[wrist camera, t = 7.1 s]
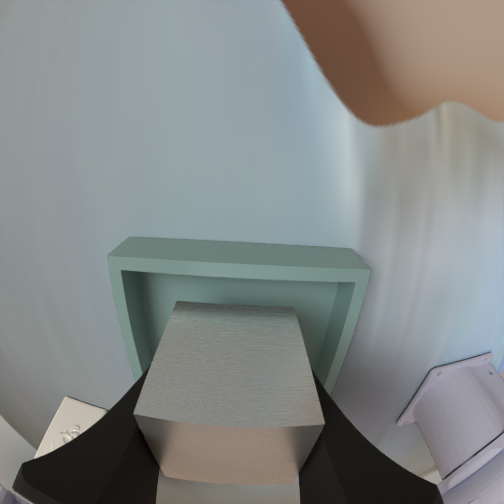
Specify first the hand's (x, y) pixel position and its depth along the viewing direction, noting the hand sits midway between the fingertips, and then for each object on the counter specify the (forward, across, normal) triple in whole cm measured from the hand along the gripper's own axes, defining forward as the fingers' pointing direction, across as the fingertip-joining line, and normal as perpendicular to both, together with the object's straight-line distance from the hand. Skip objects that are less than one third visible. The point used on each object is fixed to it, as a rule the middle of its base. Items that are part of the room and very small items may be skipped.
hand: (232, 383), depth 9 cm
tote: (+5, 0, +4) cm, 6 cm away
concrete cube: (+2, 0, 0) cm, 2 cm away
